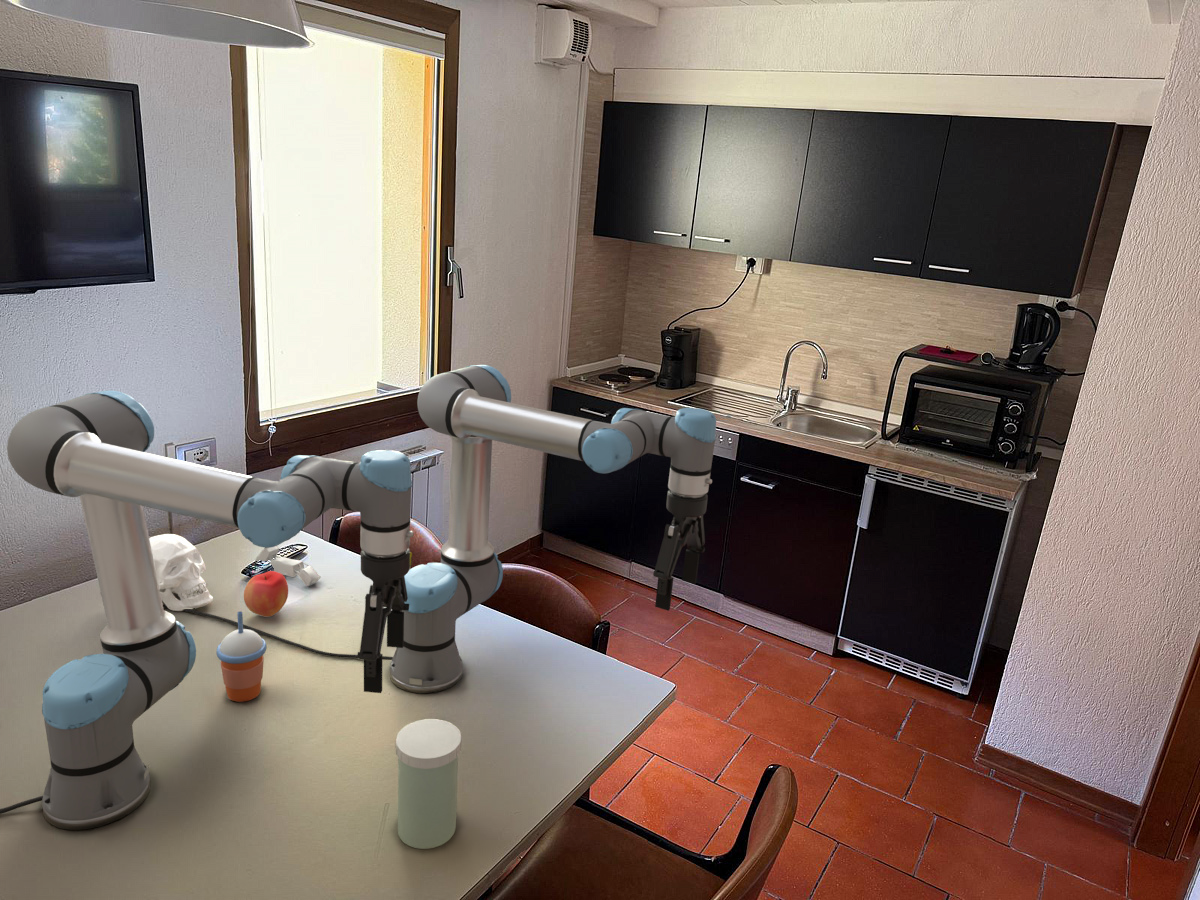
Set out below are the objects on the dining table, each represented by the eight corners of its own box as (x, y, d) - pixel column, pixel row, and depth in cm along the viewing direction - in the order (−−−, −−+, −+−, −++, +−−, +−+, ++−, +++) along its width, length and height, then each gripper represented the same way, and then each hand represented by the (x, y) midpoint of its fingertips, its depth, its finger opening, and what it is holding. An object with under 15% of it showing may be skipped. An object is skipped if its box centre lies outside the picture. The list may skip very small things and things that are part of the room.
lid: (415, 722, 141) (415, 712, 141) (472, 737, 139) (472, 727, 138) (383, 759, 132) (383, 748, 131) (443, 775, 129) (443, 765, 129)
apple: (273, 600, 207) (272, 562, 204) (297, 613, 202) (296, 575, 199) (237, 614, 200) (234, 575, 197) (261, 628, 194) (259, 588, 191)
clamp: (253, 565, 223) (254, 542, 221) (265, 560, 226) (266, 537, 224) (309, 593, 215) (310, 569, 213) (320, 588, 218) (321, 564, 216)
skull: (191, 620, 195) (189, 556, 191) (114, 601, 201) (110, 538, 197) (232, 597, 208) (230, 537, 203) (157, 580, 213) (154, 520, 209)
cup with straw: (251, 710, 165) (247, 627, 160) (209, 701, 167) (203, 619, 162) (277, 685, 174) (274, 605, 169) (237, 677, 176) (232, 598, 170)
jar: (415, 802, 145) (416, 717, 140) (465, 816, 143) (468, 730, 138) (386, 839, 137) (387, 750, 132) (439, 855, 134) (442, 765, 129)
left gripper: (388, 586, 122) (387, 714, 128) (426, 521, 145) (424, 631, 152) (336, 582, 122) (337, 710, 128) (383, 517, 145) (382, 628, 152)
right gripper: (681, 516, 147) (669, 626, 153) (728, 478, 168) (716, 576, 174) (642, 506, 150) (631, 614, 156) (693, 470, 171) (682, 566, 178)
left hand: (384, 667), depth 140 cm, fingers open, 13 cm apart
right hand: (676, 594), depth 165 cm, fingers open, 13 cm apart
